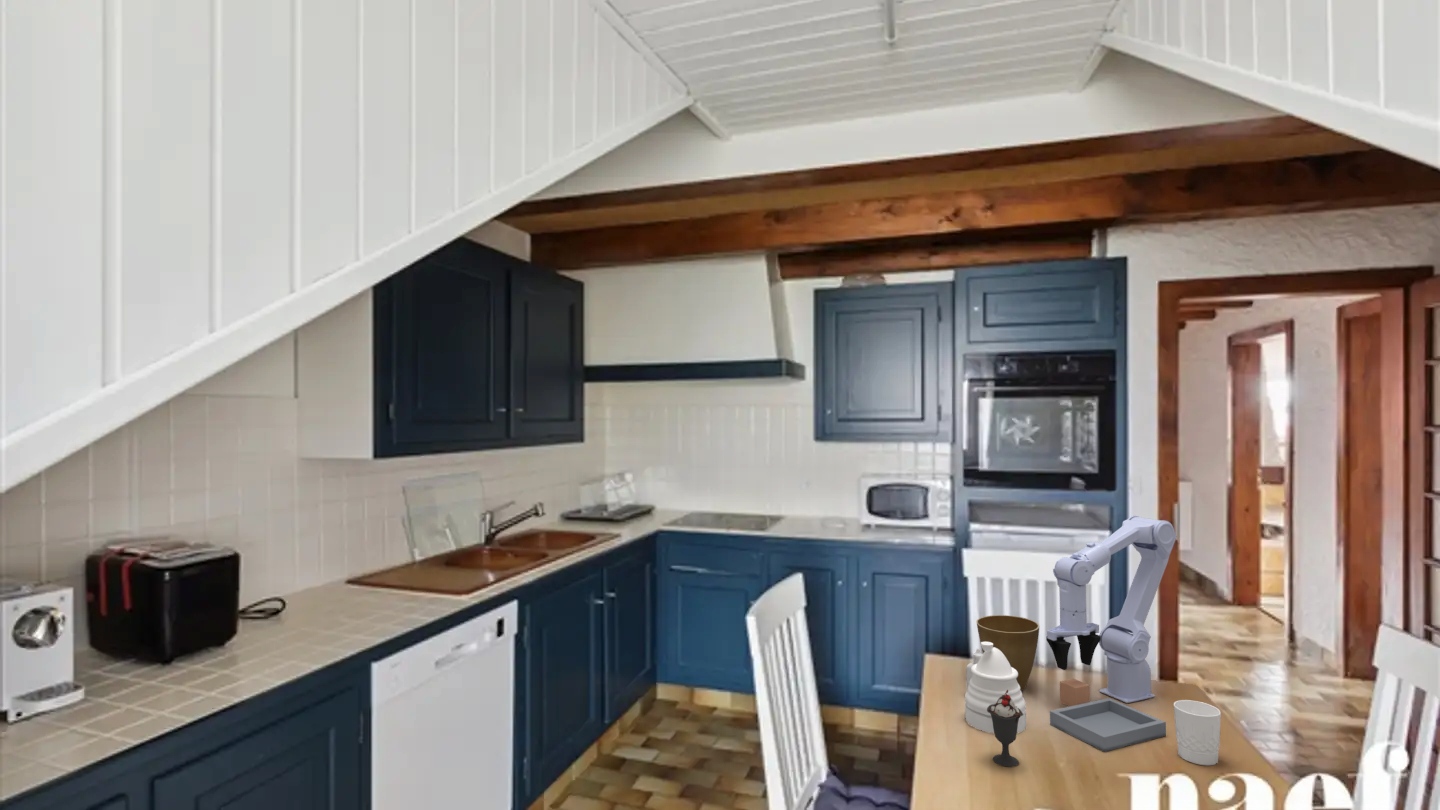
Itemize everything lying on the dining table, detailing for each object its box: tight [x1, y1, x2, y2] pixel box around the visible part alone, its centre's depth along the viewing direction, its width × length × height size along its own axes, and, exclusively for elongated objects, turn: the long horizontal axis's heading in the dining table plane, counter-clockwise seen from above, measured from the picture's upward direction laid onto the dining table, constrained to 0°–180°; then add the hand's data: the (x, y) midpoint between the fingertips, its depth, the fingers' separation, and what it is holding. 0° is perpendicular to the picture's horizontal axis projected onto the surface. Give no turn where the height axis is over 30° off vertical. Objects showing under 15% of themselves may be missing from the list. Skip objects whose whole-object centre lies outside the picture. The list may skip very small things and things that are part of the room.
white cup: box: [1173, 699, 1222, 766], centre depth 144 cm, size 8×8×10 cm
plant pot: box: [976, 614, 1040, 691], centre depth 182 cm, size 15×15×16 cm
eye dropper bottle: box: [966, 647, 983, 692], centre depth 175 cm, size 4×6×12 cm
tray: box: [1049, 697, 1167, 753], centre depth 156 cm, size 18×14×3 cm
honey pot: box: [964, 642, 1027, 734], centre depth 162 cm, size 13×13×18 cm
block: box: [1059, 678, 1091, 707], centre depth 170 cm, size 4×4×5 cm
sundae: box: [987, 690, 1023, 768], centre depth 144 cm, size 7×7×15 cm
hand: (1074, 666), depth 170 cm, fingers open, 7 cm apart
